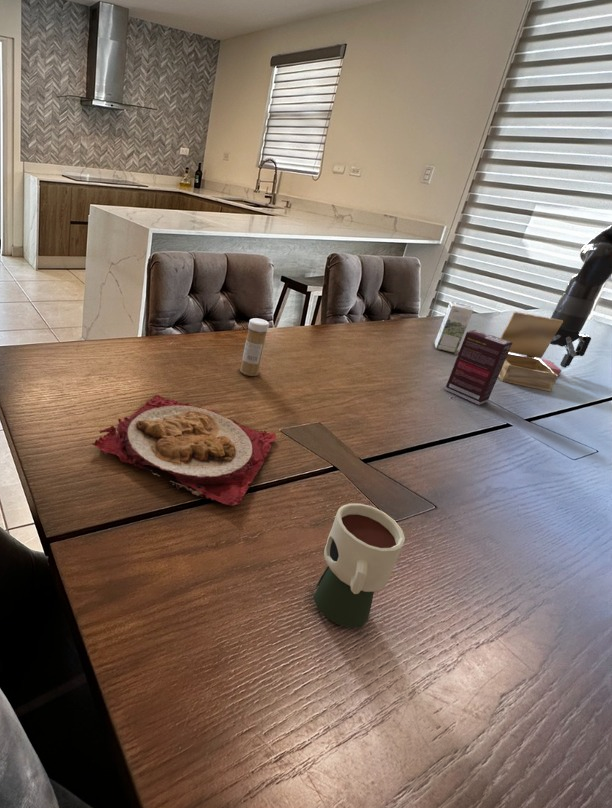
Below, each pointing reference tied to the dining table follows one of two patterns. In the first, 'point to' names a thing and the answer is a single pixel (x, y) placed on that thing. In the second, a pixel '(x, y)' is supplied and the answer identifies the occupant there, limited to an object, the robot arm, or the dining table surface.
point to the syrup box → (453, 327)
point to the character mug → (357, 563)
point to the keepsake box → (527, 372)
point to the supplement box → (478, 366)
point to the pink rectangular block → (552, 366)
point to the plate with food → (191, 448)
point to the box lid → (530, 333)
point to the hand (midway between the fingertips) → (546, 363)
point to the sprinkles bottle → (254, 346)
